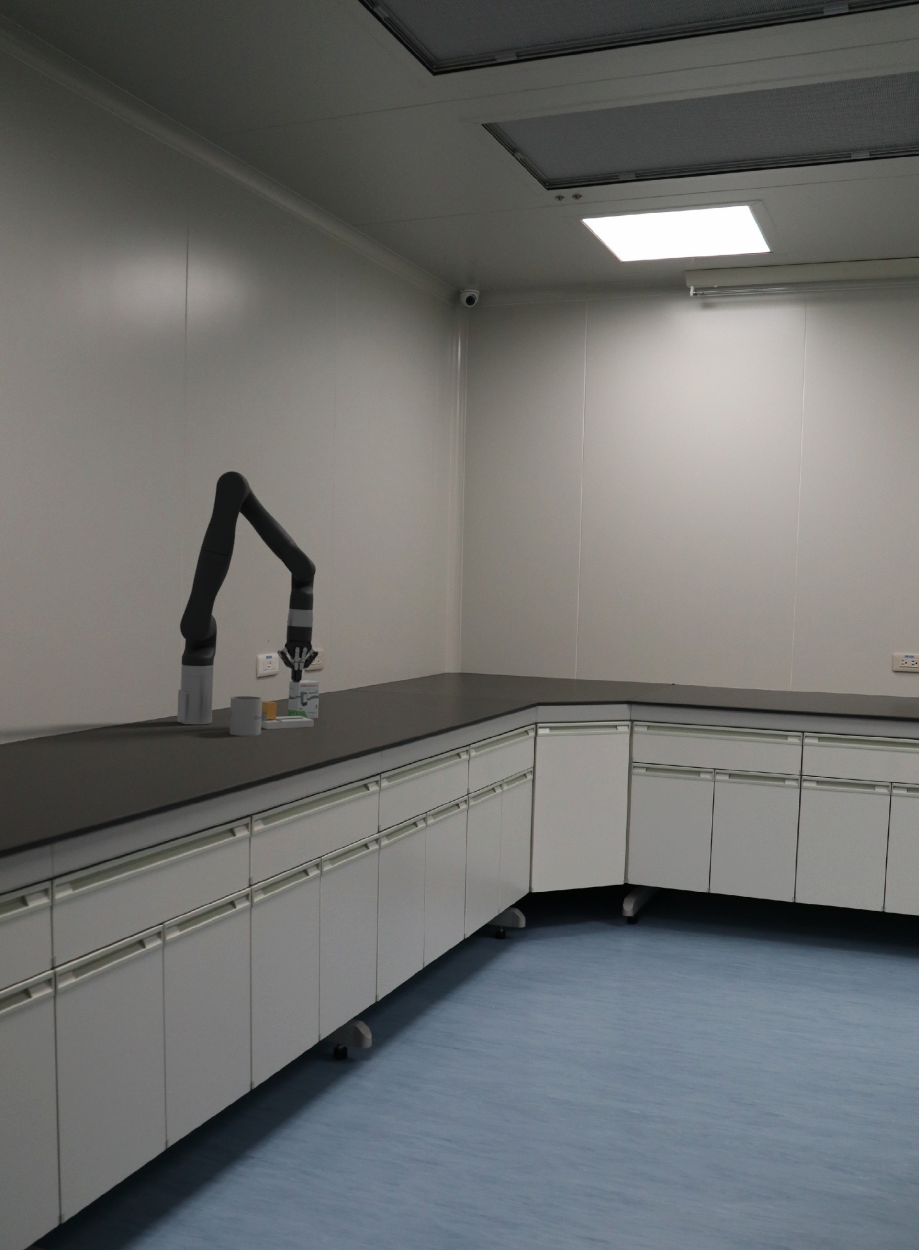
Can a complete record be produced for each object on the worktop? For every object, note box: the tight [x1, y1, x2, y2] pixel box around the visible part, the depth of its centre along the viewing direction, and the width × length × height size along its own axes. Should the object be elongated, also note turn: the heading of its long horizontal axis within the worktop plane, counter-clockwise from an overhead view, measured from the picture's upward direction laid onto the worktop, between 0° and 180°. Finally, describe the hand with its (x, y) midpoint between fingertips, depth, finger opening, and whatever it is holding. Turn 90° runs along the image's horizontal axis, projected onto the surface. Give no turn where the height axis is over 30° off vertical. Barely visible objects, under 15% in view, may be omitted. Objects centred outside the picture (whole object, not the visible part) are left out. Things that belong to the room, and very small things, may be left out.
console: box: [261, 713, 315, 730], centre depth 311 cm, size 15×10×4 cm, turn 124°
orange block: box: [262, 700, 278, 719], centre depth 308 cm, size 3×4×5 cm
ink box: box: [287, 679, 320, 720], centre depth 329 cm, size 9×5×12 cm, turn 135°
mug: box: [229, 695, 263, 737], centre depth 295 cm, size 12×9×10 cm
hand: (296, 682), depth 313 cm, fingers closed
